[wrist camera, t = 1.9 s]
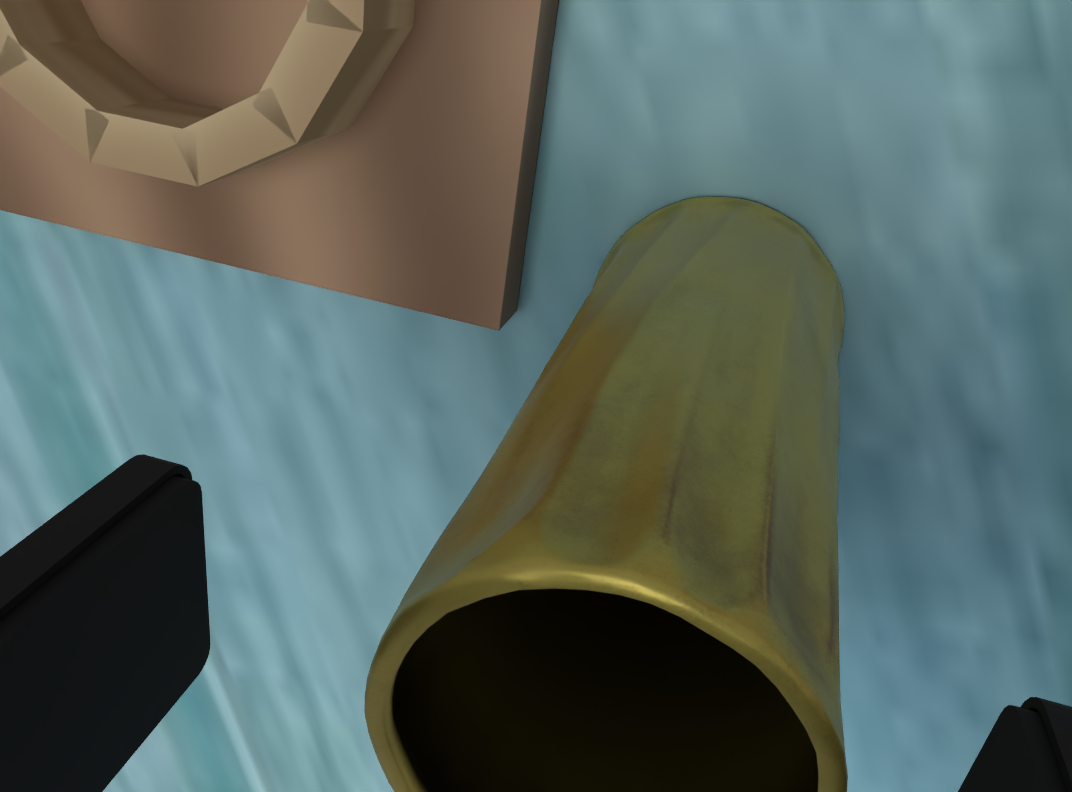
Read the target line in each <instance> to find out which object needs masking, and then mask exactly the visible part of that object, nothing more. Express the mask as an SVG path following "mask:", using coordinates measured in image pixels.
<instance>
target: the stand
mask: <svg viewBox="0 0 1072 792" xmlns="http://www.w3.org/2000/svg"><path fill="white" fill-rule="evenodd" d="M558 2H559V0H0V210H3V211H7V212H11V213H15V214H19V215H23V216H27V217H32V218H36V219H40V220H44V221H48V222H52V223H56V224H61V225H65V226H69V227H73V228H77V229H81V230H85V231H89V232H94V233H98V234H102V235H106V236H110V237H114V238H118V239H123V240H127V241H131V242H135V243H139V244H143V245H147V246H152V247H156V248H160V249H164V250H168V251H172V252H176V253H180V254H185V255H189V256H193V257H197V258H201V259H205V260H209V261H214V262H218V263H222V264H226V265H230V266H234V267H238V268H243V269H247V270H251V271H255V272H259V273H263V274H267V275H272V276H276V277H280V278H284V279H288V280H292V281H296V282H300V283H305V284H309V285H313V286H317V287H321V288H325V289H329V290H334V291H338V292H342V293H346V294H350V295H354V296H358V297H363V298H367V299H371V300H375V301H379V302H383V303H387V304H391V305H396V306H400V307H404V308H408V309H412V310H416V311H420V312H425V313H429V314H433V315H437V316H441V317H445V318H449V319H454V320H458V321H462V322H466V323H470V324H474V325H478V326H483V327H487V328H491V329H495V330H500V329H501V328H502V327H503V325H504V324H505V323H506V322H507V321H508V320H509V319H510V318H511V316H512V315H513V314H514V313H515V312H516V311H517V303H518V296H519V289H520V281H521V274H522V267H523V259H524V252H525V245H526V237H527V230H528V223H529V215H530V208H531V201H532V193H533V186H534V179H535V171H536V164H537V157H538V149H539V142H540V134H541V127H542V120H543V112H544V105H545V98H546V90H547V83H548V76H549V68H550V61H551V54H552V46H553V39H554V32H555V24H556V17H557V10H558Z"/></svg>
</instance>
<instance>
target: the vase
mask: <svg viewBox="0 0 1072 792" xmlns="http://www.w3.org/2000/svg"><path fill="white" fill-rule="evenodd" d="M843 332H844V305H843V296H842V290H841V287H840V284H839V280H838V277H837V275H836V273H835V271H834V269H833V268H832V266H831V264H830V262H829V261H828V260H827V258H826V257H825V255H824V254H823V252H822V251H821V250H820V248H819V247H818V245H817V244H816V243H815V241H814V240H813V239H812V237H811V236H810V235H809V234H808V233H807V232H806V230H805V229H804V228H803V227H801V226H800V225H799V224H797V223H796V222H794V221H793V220H791V219H789V218H788V217H786V216H784V215H783V214H781V213H779V212H777V211H775V210H773V209H771V208H769V207H767V206H765V205H762V204H760V203H757V202H753V201H749V200H744V199H739V198H732V197H697V198H691V199H686V200H682V201H679V202H676V203H673V204H670V205H668V206H666V207H663V208H661V209H659V210H657V211H655V212H654V213H652V214H650V215H648V216H647V217H645V218H644V219H643V220H641V221H640V222H638V223H637V224H636V225H634V226H633V227H631V228H630V229H629V230H627V231H626V232H625V233H624V234H623V235H622V236H621V237H620V238H619V239H618V241H617V242H616V243H615V245H614V246H613V247H612V249H611V250H610V252H609V254H608V255H607V257H606V258H605V260H604V262H603V264H602V266H601V268H600V270H599V272H598V275H597V278H596V280H595V283H594V286H593V289H592V291H591V293H590V294H589V296H588V297H587V299H586V300H585V302H584V303H583V305H582V307H581V308H580V310H579V312H578V313H577V315H576V317H575V318H574V320H573V322H572V323H571V325H570V327H569V329H568V330H567V332H566V334H565V335H564V337H563V339H562V340H561V342H560V344H559V345H558V347H557V349H556V350H555V352H554V354H553V355H552V357H551V358H550V360H549V362H548V363H547V365H546V367H545V369H544V370H543V372H542V374H541V376H540V377H539V379H538V381H537V382H536V384H535V386H534V388H533V389H532V391H531V393H530V394H529V396H528V398H527V399H526V401H525V403H524V404H523V406H522V408H521V409H520V411H519V413H518V414H517V416H516V418H515V419H514V421H513V423H512V424H511V426H510V428H509V429H508V431H507V433H506V435H505V436H504V438H503V440H502V442H501V443H500V445H499V447H498V448H497V450H496V452H495V453H494V455H493V457H492V458H491V460H490V461H489V463H488V465H487V466H486V468H485V470H484V471H483V473H482V474H481V476H480V478H479V479H478V481H477V482H476V484H475V485H474V487H473V488H472V490H471V491H470V493H469V494H468V496H467V498H466V499H465V500H464V502H463V503H462V505H461V506H460V508H459V509H458V511H457V512H456V514H455V515H454V517H453V518H452V520H451V521H450V522H449V524H448V526H447V527H446V529H445V530H444V532H443V533H442V535H441V536H440V538H439V539H438V541H437V542H436V544H435V545H434V547H433V549H432V550H431V552H430V553H429V555H428V557H427V558H426V560H425V562H424V563H423V565H422V567H421V568H420V570H419V572H418V573H417V575H416V577H415V578H414V580H413V582H412V583H411V585H410V587H409V588H408V590H407V592H406V593H405V595H404V597H403V599H402V601H401V603H400V605H399V607H398V609H397V611H396V612H395V614H394V616H393V618H392V620H391V622H390V623H389V625H388V627H387V629H386V631H385V633H384V634H383V636H382V638H381V641H380V644H379V646H378V649H377V651H376V653H375V656H374V658H373V661H372V663H371V667H370V671H369V674H368V678H367V683H366V691H365V717H366V722H367V727H368V732H369V735H370V738H371V741H372V744H373V747H374V750H375V753H376V755H377V758H378V760H379V763H380V765H381V767H382V769H383V771H384V773H385V776H386V778H387V780H388V782H389V783H390V785H391V787H392V789H393V790H394V792H847V780H848V774H847V766H846V757H845V747H844V735H843V724H842V713H841V701H840V667H839V599H838V533H837V508H838V447H839V433H840V420H839V375H838V356H839V351H840V349H841V347H842V341H843Z"/></svg>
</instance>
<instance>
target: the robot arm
mask: <svg viewBox="0 0 1072 792" xmlns="http://www.w3.org/2000/svg"><path fill="white" fill-rule="evenodd" d="M209 650H210V629H209V611H208V594H207V576H206V559H205V541H204V523H203V506H202V491H201V487H200V485H199V483H198V482H196V481H193V480H192V476H191V472H190V471H189V469H188V468H187V467H185V466H183V465H180V464H177V463H173V462H169V461H166V460H162V459H158V458H154V457H151V456H147V455H136V456H135V457H133V458H131V459H129V460H128V461H127V462H125V463H124V464H123V465H121V466H120V467H119V468H117V469H116V470H115V471H113V472H112V473H111V474H109V475H108V476H107V477H105V478H104V479H103V480H101V481H100V482H99V483H97V484H96V485H95V486H93V487H92V488H91V489H89V490H88V491H87V492H85V493H84V494H83V495H82V496H80V497H79V498H78V499H76V500H75V501H74V502H72V503H71V504H70V505H68V506H67V507H66V508H64V509H63V510H62V511H60V512H59V513H58V514H56V515H55V516H54V517H52V518H51V519H50V520H48V521H47V522H46V523H44V524H43V525H42V526H40V527H39V528H38V529H36V530H35V531H34V532H32V533H31V534H30V535H28V536H27V537H26V538H25V539H23V540H22V541H21V542H19V543H18V544H17V545H15V546H14V547H13V548H11V549H10V550H9V551H7V552H6V553H5V554H3V555H2V556H1V557H0V792H102V791H103V790H104V789H105V788H106V786H107V785H108V784H109V783H110V782H111V780H112V779H113V778H114V777H115V776H116V774H117V773H118V772H119V771H120V770H121V768H122V767H123V766H124V765H125V763H126V762H127V761H128V760H129V759H130V757H131V756H132V755H133V754H134V753H135V751H136V750H137V749H138V748H139V746H140V745H141V744H142V743H143V742H144V740H145V739H146V738H147V737H148V736H149V734H150V733H151V732H152V731H153V730H154V728H155V727H156V726H157V725H158V723H159V722H160V721H161V720H162V719H163V717H164V716H165V715H166V714H167V713H168V711H169V710H170V709H171V708H172V706H173V705H174V704H175V703H176V702H177V700H178V699H179V698H180V697H181V696H182V694H183V693H184V692H185V691H186V690H187V688H188V687H189V686H190V685H191V683H192V682H193V681H194V680H195V679H196V677H197V676H198V675H199V673H200V672H201V671H202V669H203V667H204V665H205V663H206V660H207V658H208V655H209ZM958 792H1072V707H1070V706H1067V705H1063V704H1059V703H1056V702H1052V701H1048V700H1044V699H1041V698H1037V697H1030V698H1029V699H1027V700H1026V701H1025V702H1024V703H1023V704H1022V706H1021V707H1017V706H1013V705H1008V706H1007V707H1005V708H1004V710H1003V711H1002V712H1001V714H1000V716H999V717H998V719H997V721H996V723H995V725H994V727H993V728H992V730H991V732H990V734H989V736H988V738H987V740H986V741H985V743H984V745H983V747H982V749H981V751H980V752H979V754H978V756H977V758H976V760H975V762H974V763H973V765H972V767H971V769H970V771H969V773H968V774H967V776H966V778H965V780H964V782H963V784H962V785H961V787H960V789H959V791H958Z"/></svg>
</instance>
